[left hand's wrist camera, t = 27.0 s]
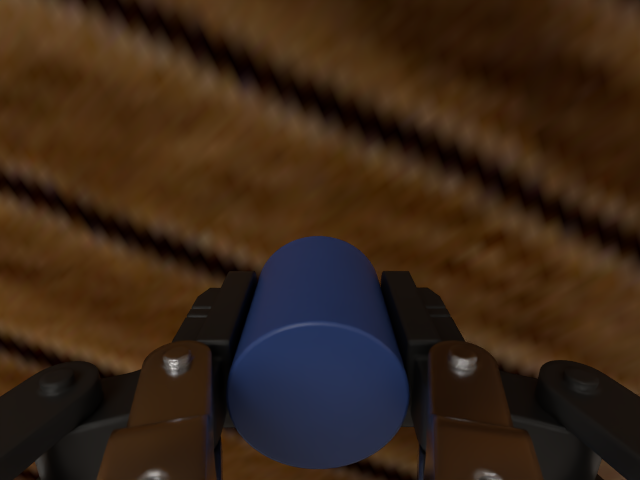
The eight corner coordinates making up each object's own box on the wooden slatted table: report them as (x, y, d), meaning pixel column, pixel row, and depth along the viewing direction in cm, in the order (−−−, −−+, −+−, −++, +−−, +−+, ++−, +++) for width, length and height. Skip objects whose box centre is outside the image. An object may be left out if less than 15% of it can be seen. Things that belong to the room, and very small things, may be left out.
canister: (397, 314, 13) (438, 433, 8) (294, 359, 13) (281, 492, 9) (346, 214, 12) (362, 291, 7) (235, 268, 12) (188, 369, 8)
